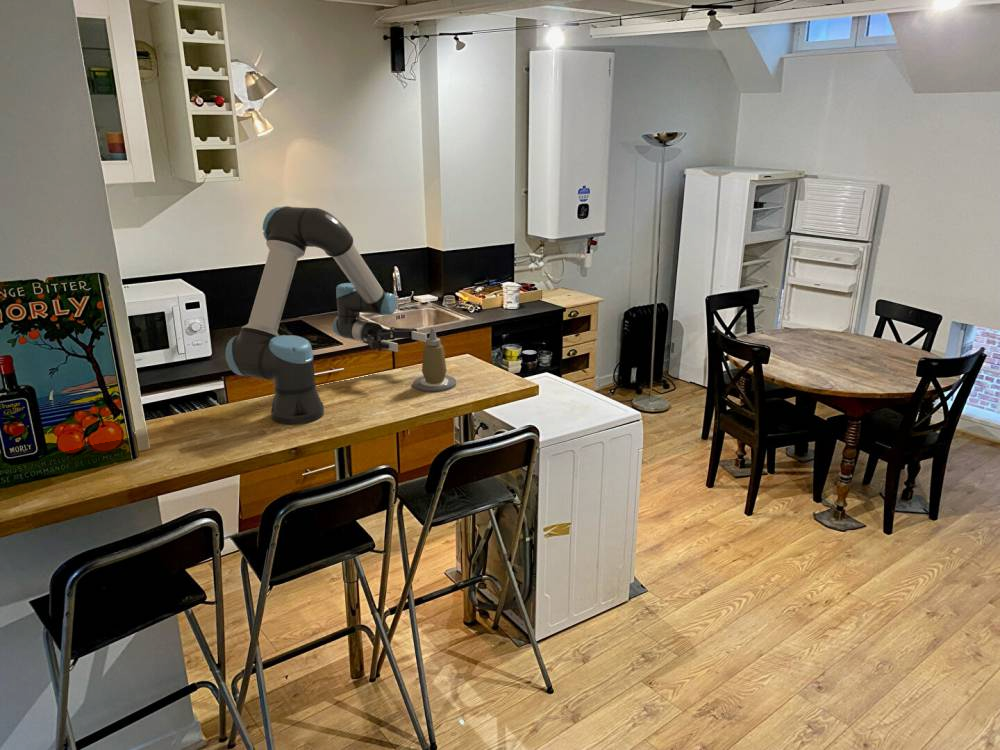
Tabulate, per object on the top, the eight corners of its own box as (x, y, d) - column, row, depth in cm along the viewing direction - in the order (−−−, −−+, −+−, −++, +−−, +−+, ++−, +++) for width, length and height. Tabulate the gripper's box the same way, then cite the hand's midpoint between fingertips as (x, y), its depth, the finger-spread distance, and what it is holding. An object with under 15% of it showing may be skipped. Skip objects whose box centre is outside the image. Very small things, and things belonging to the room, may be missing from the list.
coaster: (405, 388, 245) (405, 385, 245) (426, 375, 257) (426, 372, 257) (444, 394, 240) (443, 390, 239) (463, 380, 252) (463, 377, 251)
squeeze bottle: (448, 377, 252) (446, 325, 246) (445, 385, 244) (443, 331, 238) (424, 377, 252) (421, 325, 246) (420, 385, 244) (418, 331, 238)
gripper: (395, 334, 273) (438, 344, 260) (341, 351, 254) (384, 363, 242) (393, 314, 270) (437, 323, 258) (339, 329, 252) (383, 340, 239)
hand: (412, 342), depth 250 cm, fingers open, 13 cm apart
